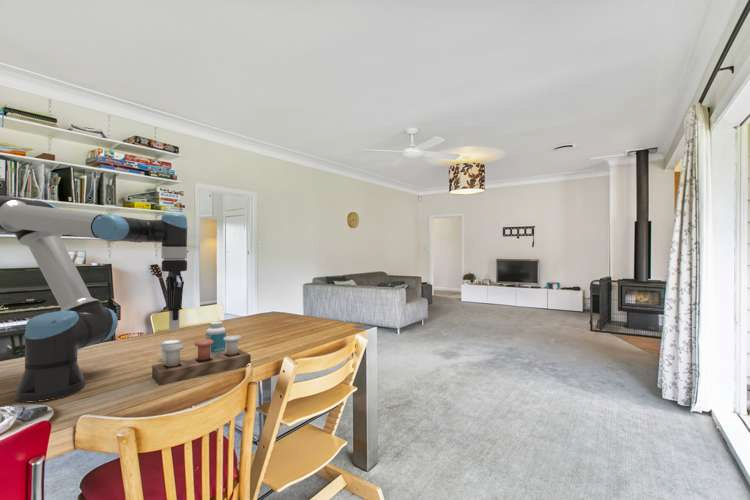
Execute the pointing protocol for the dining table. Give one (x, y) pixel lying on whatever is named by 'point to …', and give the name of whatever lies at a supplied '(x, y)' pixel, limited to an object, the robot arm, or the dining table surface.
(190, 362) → the press board
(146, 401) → the dining table surface
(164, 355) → the light grey flanged plug
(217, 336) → the pill bottle
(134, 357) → the dining table surface
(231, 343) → the grey plug right
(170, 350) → the grey plug left
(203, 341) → the brick-red plug
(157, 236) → the robot arm
